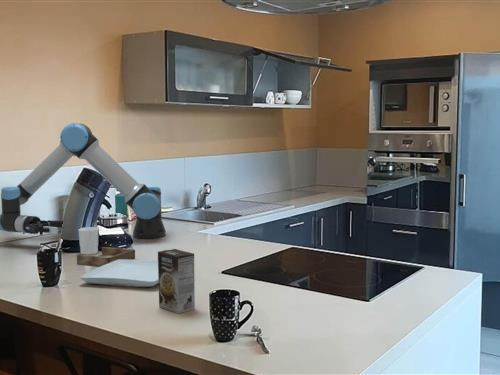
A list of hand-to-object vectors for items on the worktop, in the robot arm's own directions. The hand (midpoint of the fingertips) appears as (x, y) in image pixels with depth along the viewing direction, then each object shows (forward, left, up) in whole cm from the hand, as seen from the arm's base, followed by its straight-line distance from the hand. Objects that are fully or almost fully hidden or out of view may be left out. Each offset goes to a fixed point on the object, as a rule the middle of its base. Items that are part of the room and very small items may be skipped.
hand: (68, 228), depth 246 cm
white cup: (-8, +6, -10) cm, 14 cm away
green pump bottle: (-26, -60, -10) cm, 66 cm away
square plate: (-22, +53, -10) cm, 59 cm away
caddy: (-14, +24, -10) cm, 30 cm away
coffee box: (-30, +91, -10) cm, 97 cm away
